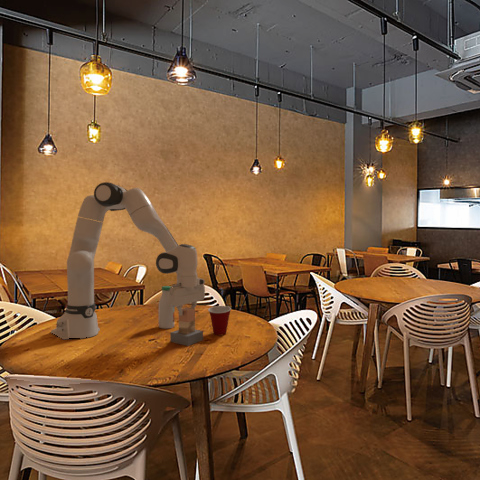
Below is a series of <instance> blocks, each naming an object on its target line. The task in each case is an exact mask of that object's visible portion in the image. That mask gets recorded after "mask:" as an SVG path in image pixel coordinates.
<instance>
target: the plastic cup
mask: <svg viewBox="0 0 480 480" xmlns="http://www.w3.org/2000/svg"><path fill="white" fill-rule="evenodd" d="M231 310H232V308H231V307H230V306H227V305H217V306H212V307H209V308H208V309H207V311H208V312H209V316H210V321H211V327H212V332H213V334H214V335H215V336H225V335H226V334H227V329H228V327H229V326H228V325H229V321H230V320H229V319H230V314H231ZM224 334H225V335H224Z"/></svg>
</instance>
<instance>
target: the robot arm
mask: <svg viewBox="0 0 480 480" xmlns="http://www.w3.org/2000/svg"><path fill="white" fill-rule="evenodd" d="M123 210H126V212H127V213H128V215H129V217H130V219H131V221H132V222H133V224H134V225H135V227H136V228H137V229H138V230H139V231H142V232H144V233H148V234H150V235H152V236H153V237H155V238H156V239H157V240H158V241H159V243H160V245H161V246H162V248H163V249H164V251H163V252H161V253H159V254H158V255H157V257H156V259H155V266H156V269H157V270H158V272H160V273H162V274H167V275H168V274H173V273H175V274H176V283H175V284H174V283H172V285H171V288H170V291H169V297H168V305H169V306H171V307H174V308H176V310H177V311H178V316H179V315H184V311H183V310H182V308H184V305H188V304H191V306H190V308H193V309H195V310H196V306H197V304H198V302H200V301H203V300H204V299H205V297H206V296H205V294H206V292H205V291H206V290H205V284H206V283H205V282H206V280H205V279H204V278H201V277H198V271H197V268H198V251H197V249H196V247H195V246H194V245H192V244H186V243H180V244H179V243H177V241H176V240H175V237H174V236H173V235H172V233H171V232H170V230H169V228H168V227H167V226H166V224H165V223H164V221H163V220H162V219H161V217H160V216H159V214H158V212H157V211H156V209H155V207H154V205H153V204H152V202H151V200H150V199H149V197H148V196H147V194H146V193H145V191H143V190H142V189H141V188H138V187H134V188H130V189H128V190H127V189H126V188H124V187H122V186H121V185H118V184H115V183H112V182H108V181H106V182H100V183H98V184H97V185H96V186H95V188H94V190H93V194H92V195H91V194H90V195H87V196H85V198H84V199H83V200H82V202H81V205H80V208H79V212H78V214H77V218H76V223H75V225H74V226H75V227H74V232H73V236H72V240H71V245H70V249H69V253H68V257H67V260H66V275H67V276H66V278H67V279H66V280H67V281H66V282H67V304H65V305H64V306H65V307H64V308H65V312H64V313H63V314H62V315H61V316H60V317H59V318H57V320H56V325H55V326H56V327H55V328H53V329H52V330H50V333H51V334H52V333H53V334H52V335H54V334H55V335H57V336H58V337H57V336H56V337H57V338H59V337H60V338H59V339H61V338H62V339H61V340H70V339H69V338H80V339H86V337H87V338H91V337H95V336H97V335H98V334H99V331H100V330H101V329H100V327H99V325H98V317H97V313H96V312H95V311H96V302H95V256H96V253H97V248H98V245H99V242H100V236H101V233H102V228H103V225H104V221H105V216H106V213H107V212H108V211H110V212H115V211H116V212H117V211H123ZM55 335H54V336H55Z"/></svg>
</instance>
